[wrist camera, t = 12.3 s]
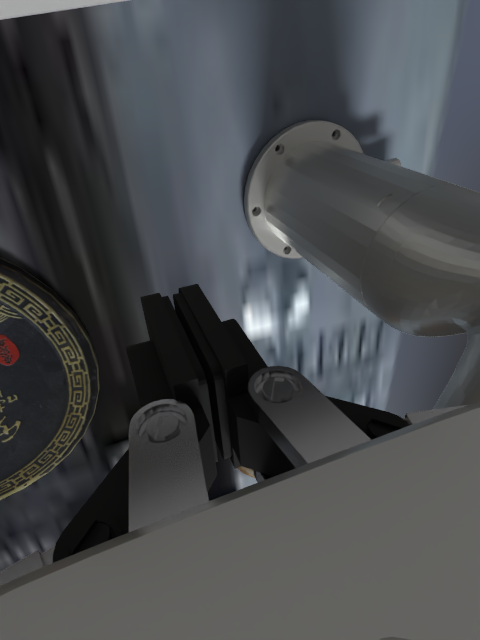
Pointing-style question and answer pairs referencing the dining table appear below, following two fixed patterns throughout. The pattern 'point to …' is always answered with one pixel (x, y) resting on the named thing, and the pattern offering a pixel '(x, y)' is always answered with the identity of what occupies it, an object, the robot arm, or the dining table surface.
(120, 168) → the dining table surface
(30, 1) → the overhang dock
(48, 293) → the decorative plate
